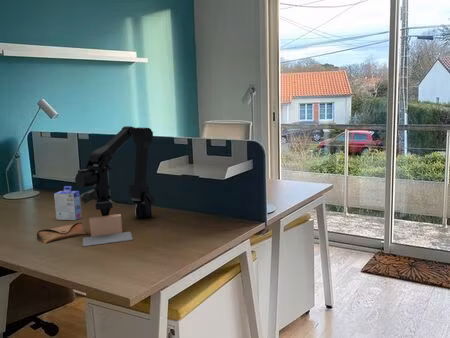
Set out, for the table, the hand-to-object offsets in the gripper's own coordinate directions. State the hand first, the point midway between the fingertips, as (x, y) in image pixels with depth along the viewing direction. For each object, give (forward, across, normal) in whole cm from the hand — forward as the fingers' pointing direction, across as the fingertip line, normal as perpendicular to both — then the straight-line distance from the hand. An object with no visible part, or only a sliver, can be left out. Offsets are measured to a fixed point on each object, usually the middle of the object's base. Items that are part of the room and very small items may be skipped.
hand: (105, 220), depth 179 cm
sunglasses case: (+5, +1, -16) cm, 17 cm away
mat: (+4, +11, 0) cm, 12 cm away
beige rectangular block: (+4, +4, 0) cm, 6 cm away
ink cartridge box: (+4, -25, -15) cm, 30 cm away
